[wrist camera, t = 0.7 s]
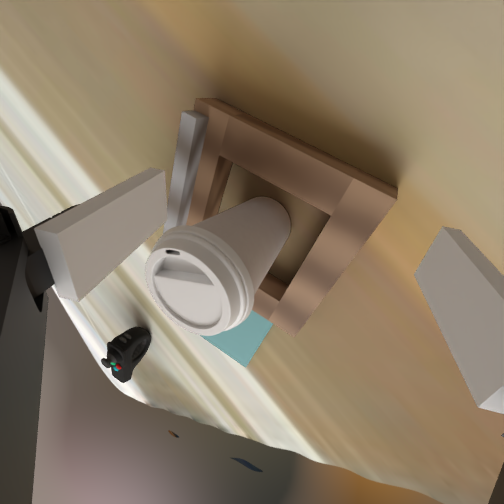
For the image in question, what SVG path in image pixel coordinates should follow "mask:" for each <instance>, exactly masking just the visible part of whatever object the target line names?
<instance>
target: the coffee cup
mask: <svg viewBox="0 0 504 504" xmlns="http://www.w3.org/2000/svg"><path fill="white" fill-rule="evenodd" d="M290 231H291V222H290V218H289V215H288V213H287V211H286V210H285V208H284V207H283V206H282V205H281V204H280V203H279V202H277V201H276V200H274V199H272V198H269V197H255V198H252V199H250V200H248V201H246V202H244V203H241V204H239V205H237V206H235V207H233V208H230V209H228V210H226V211H224V212H221V213H219V214H217V215H215V216H213V217H210V218H208V219H206V220H204V221H201V222H199V223H197V224H194V225H192V226H188V225H182V226H176V227H173V228H171V229H169V230H167V231H166V232H165V233H164V234H163V235H162V236H161V237H160V238H159V239H158V241H157V242H156V244H155V246H154V247H153V249H152V252H151V255H150V256H149V258H148V260H147V262H146V266H145V277H146V282H147V286H148V288H149V291H150V293H151V295H152V297H153V299H154V300H155V302H156V303H157V305H158V306H159V308H160V309H161V310H162V311H163V312H164V313H165V315H166V316H167V317H169V318H170V319H171V320H172V321H173V322H174V323H176V324H177V325H178V326H180V327H182V328H183V329H185V330H187V331H189V332H192V333H194V334H198V335H203V336H212V335H216V334H219V333H221V332H222V331H227V330H229V329H232V328H234V327H236V326H237V325H239V324H240V323H242V322H243V321H244V320H245V319H246V318H247V317H248V316H249V314H250V313H251V311H252V308H253V304H254V295H255V293H256V291H257V289H258V288H259V286H260V284H261V282H262V281H263V279H264V277H265V276H266V274H267V272H268V271H269V269H270V267H271V266H272V264H273V262H274V260H275V259H276V257H277V255H278V254H279V252H280V250H281V249H282V247H283V245H284V244H285V242H286V240H287V239H288V237H289V234H290Z"/></svg>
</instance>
